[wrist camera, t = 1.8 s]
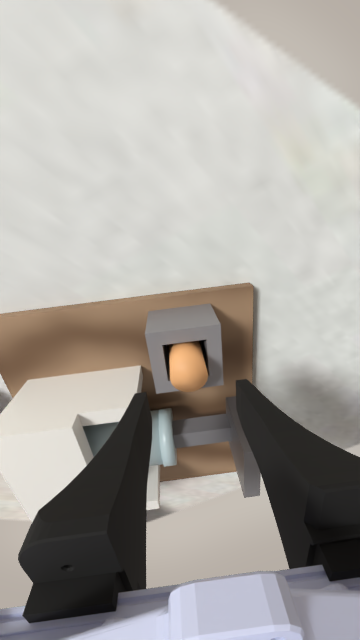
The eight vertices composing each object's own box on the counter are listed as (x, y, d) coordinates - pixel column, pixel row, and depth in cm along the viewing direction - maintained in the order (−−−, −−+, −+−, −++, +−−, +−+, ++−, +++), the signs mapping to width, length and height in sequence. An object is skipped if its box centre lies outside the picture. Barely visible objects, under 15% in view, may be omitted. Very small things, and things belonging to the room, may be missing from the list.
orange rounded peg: (200, 356, 20) (209, 389, 16) (170, 360, 20) (172, 394, 16) (198, 329, 19) (206, 358, 15) (166, 333, 19) (167, 363, 15)
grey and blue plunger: (236, 426, 25) (259, 495, 19) (71, 447, 25) (41, 525, 19) (235, 387, 23) (261, 450, 17) (56, 410, 23) (16, 483, 17)
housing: (219, 449, 27) (234, 513, 21) (68, 469, 27) (42, 539, 21) (210, 303, 20) (228, 340, 14) (5, 329, 20) (-60, 377, 14)
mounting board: (248, 461, 29) (251, 469, 28) (64, 486, 29) (61, 495, 28) (249, 282, 20) (253, 286, 19) (-18, 316, 20) (-26, 321, 19)
